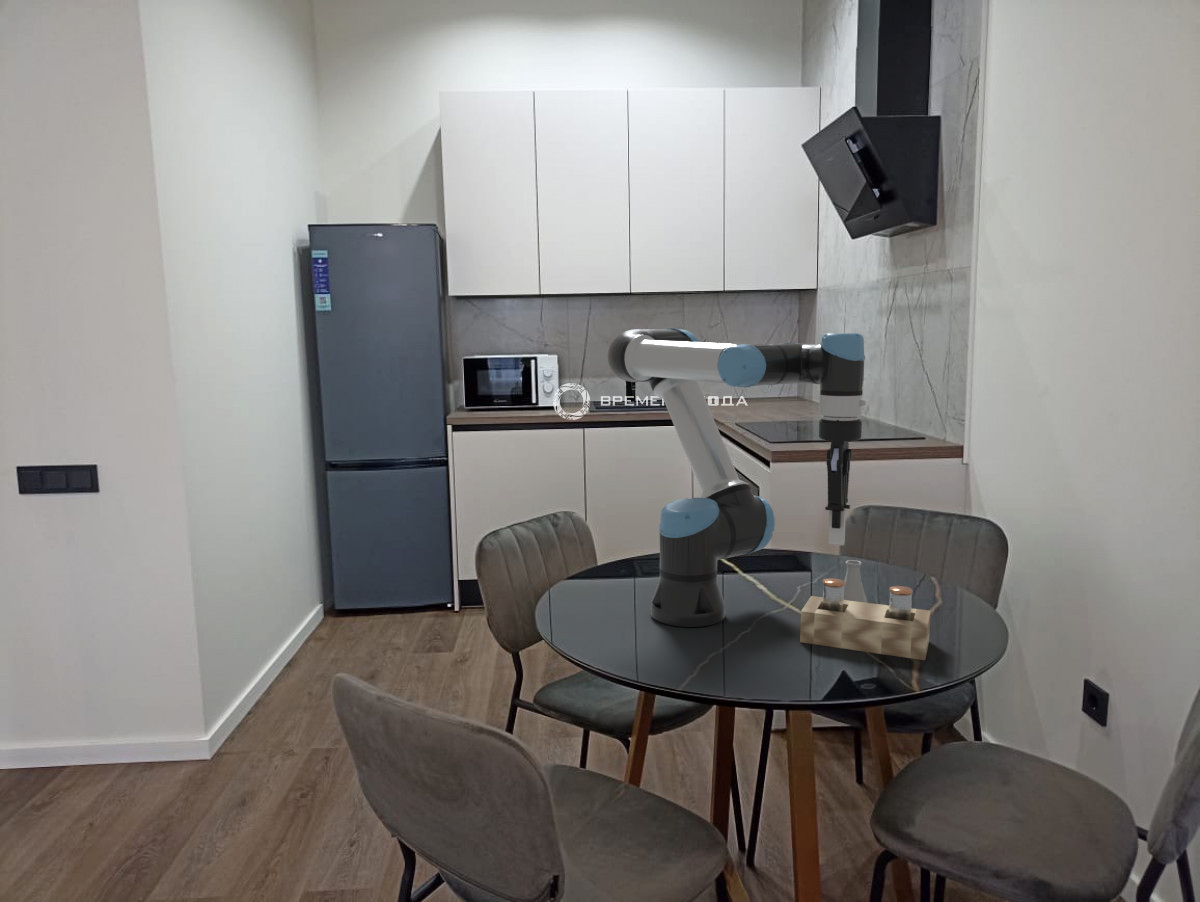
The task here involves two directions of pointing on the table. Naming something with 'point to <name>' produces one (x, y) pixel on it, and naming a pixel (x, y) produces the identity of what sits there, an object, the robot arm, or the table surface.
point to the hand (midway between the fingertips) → (836, 543)
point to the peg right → (900, 603)
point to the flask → (854, 583)
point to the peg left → (833, 594)
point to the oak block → (865, 629)
